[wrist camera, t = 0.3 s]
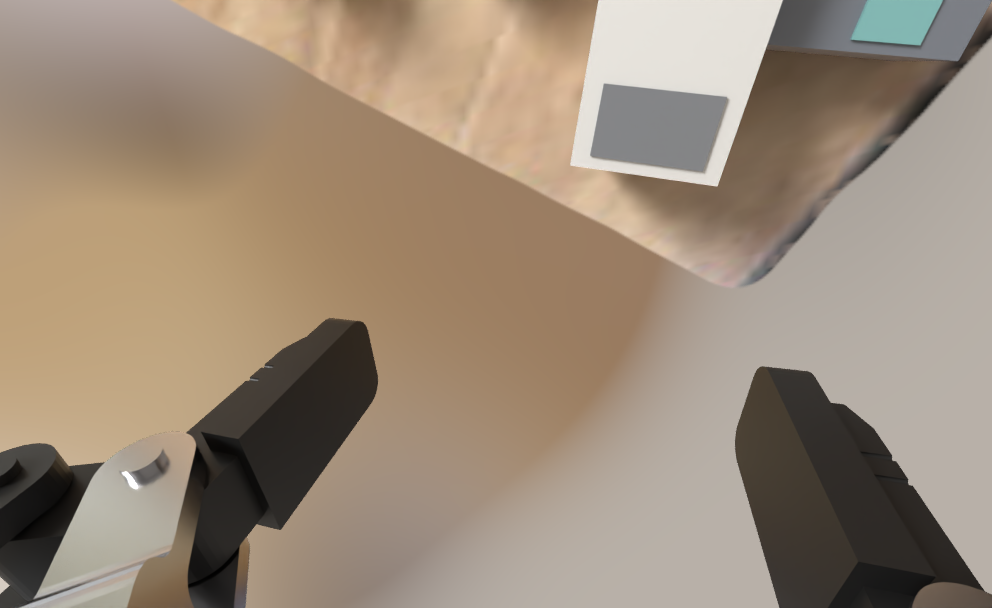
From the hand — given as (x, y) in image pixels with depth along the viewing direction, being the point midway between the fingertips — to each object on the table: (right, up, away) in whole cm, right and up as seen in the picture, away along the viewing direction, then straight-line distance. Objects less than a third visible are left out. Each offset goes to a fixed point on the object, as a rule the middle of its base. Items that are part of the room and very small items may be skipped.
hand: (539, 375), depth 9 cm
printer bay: (+10, +19, +19) cm, 28 cm away
